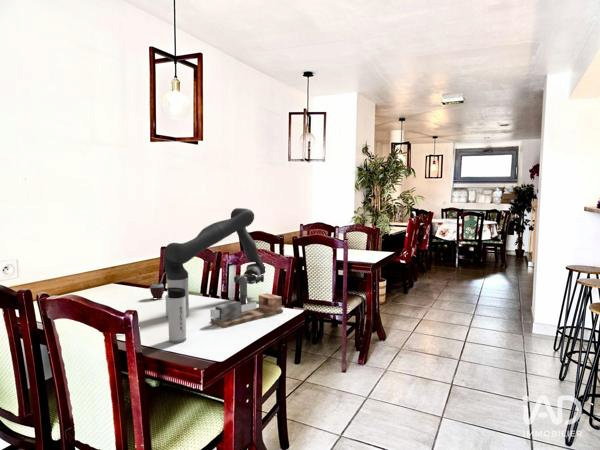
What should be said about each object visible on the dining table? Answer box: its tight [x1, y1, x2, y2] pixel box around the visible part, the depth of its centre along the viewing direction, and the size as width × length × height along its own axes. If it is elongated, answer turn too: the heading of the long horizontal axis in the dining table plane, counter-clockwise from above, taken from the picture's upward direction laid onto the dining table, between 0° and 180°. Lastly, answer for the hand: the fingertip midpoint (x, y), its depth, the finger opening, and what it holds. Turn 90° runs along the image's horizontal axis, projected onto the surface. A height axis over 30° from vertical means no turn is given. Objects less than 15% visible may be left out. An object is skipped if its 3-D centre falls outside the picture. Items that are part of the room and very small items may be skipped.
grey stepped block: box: [209, 276, 257, 318], centre depth 175 cm, size 22×3×15 cm, turn 134°
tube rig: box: [210, 292, 284, 328], centre depth 181 cm, size 32×11×8 cm, turn 134°
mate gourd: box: [149, 272, 166, 299], centre depth 216 cm, size 8×8×15 cm
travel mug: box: [166, 287, 187, 344], centre depth 150 cm, size 6×7×20 cm
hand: (247, 281), depth 190 cm, fingers open, 8 cm apart
